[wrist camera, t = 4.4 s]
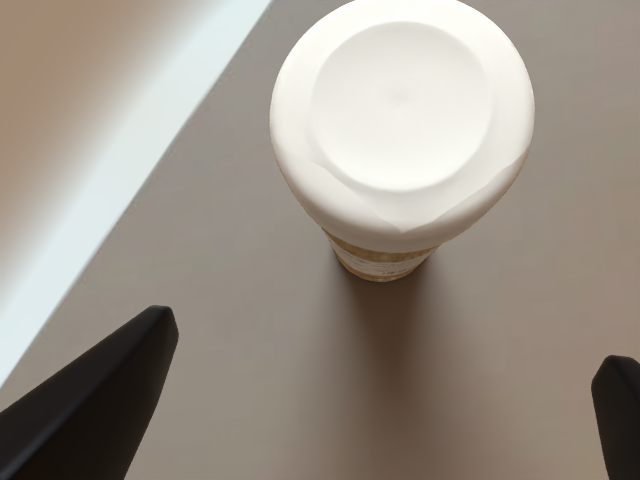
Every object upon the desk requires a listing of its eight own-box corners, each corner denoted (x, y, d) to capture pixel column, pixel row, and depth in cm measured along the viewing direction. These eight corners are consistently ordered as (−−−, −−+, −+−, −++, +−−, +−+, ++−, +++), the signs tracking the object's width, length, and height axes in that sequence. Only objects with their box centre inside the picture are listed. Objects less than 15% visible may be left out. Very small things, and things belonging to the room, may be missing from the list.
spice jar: (414, 176, 21) (495, -55, 8) (442, 270, 20) (585, 197, 7) (319, 200, 21) (239, 20, 8) (343, 295, 20) (297, 270, 7)
